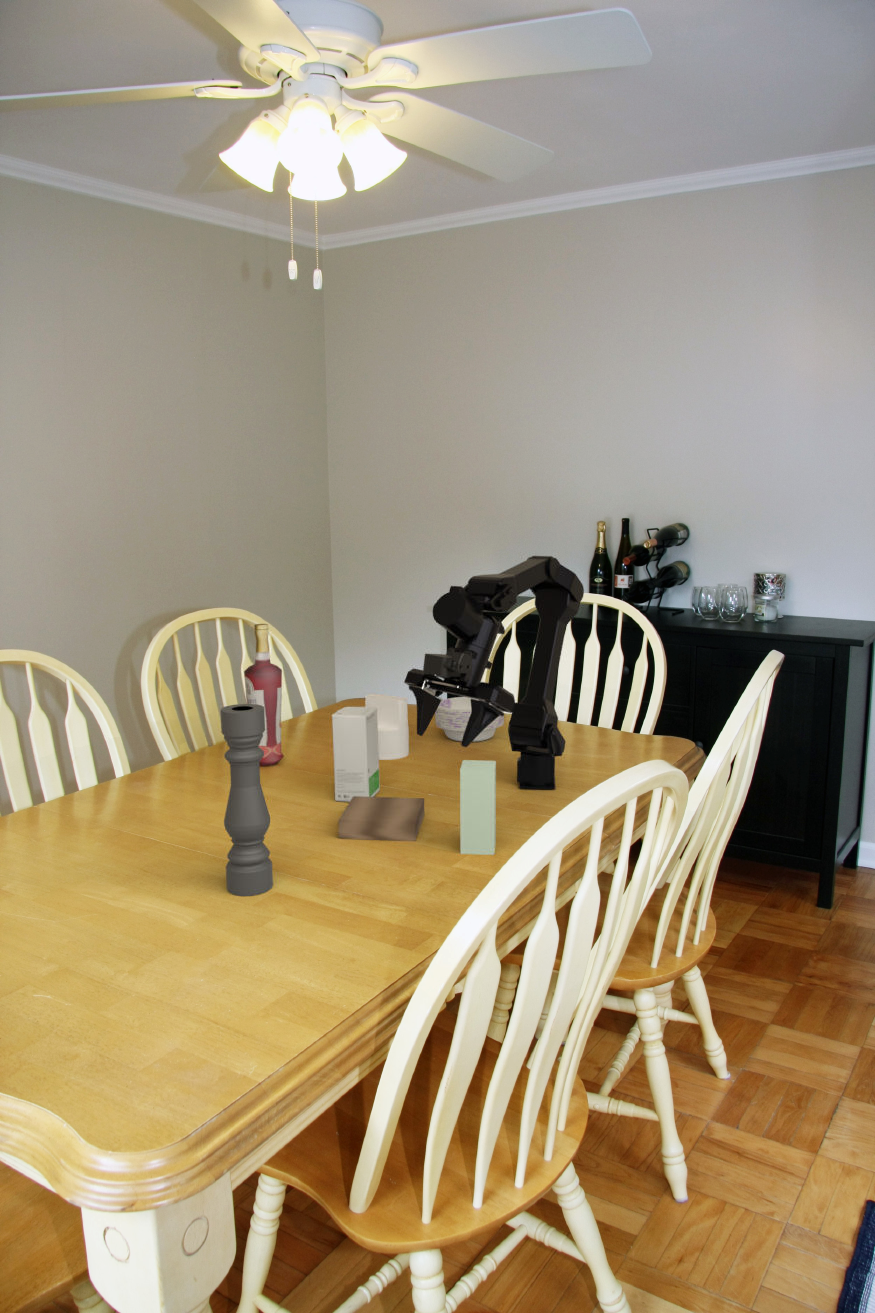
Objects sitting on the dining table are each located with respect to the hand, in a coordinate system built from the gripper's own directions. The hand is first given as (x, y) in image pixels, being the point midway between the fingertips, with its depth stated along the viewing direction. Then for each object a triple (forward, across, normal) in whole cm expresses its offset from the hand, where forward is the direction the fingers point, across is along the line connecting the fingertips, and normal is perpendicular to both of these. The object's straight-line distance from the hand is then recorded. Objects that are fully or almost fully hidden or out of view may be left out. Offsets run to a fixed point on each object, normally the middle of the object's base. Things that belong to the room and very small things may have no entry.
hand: (441, 740), depth 150 cm
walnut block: (+15, -8, +3) cm, 17 cm away
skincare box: (+12, -23, +11) cm, 28 cm away
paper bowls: (-10, -33, +50) cm, 61 cm away
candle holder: (+30, -5, -22) cm, 37 cm away
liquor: (+11, -52, +14) cm, 55 cm away
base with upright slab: (+1, -38, +32) cm, 49 cm away
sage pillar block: (+14, +10, +5) cm, 18 cm away
